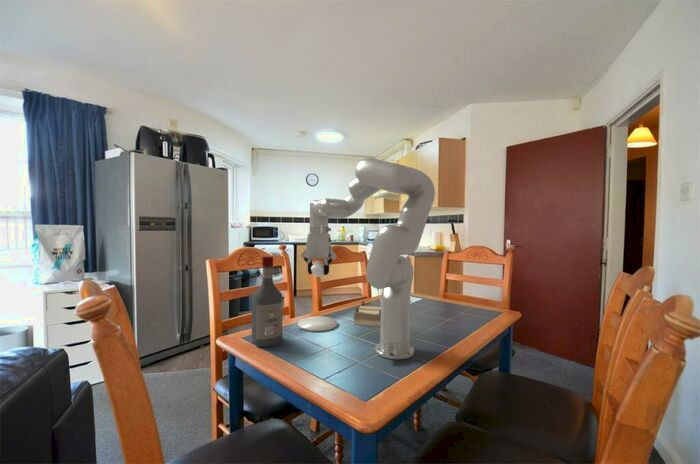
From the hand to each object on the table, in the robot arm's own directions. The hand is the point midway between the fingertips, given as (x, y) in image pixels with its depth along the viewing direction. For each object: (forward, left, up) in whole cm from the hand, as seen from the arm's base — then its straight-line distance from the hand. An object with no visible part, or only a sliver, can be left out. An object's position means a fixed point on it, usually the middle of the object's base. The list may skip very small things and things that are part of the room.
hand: (318, 273), depth 123 cm
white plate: (0, 0, -21) cm, 21 cm away
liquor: (-22, +10, -22) cm, 32 cm away
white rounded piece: (0, 0, -1) cm, 1 cm away
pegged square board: (+12, -20, -21) cm, 32 cm away
